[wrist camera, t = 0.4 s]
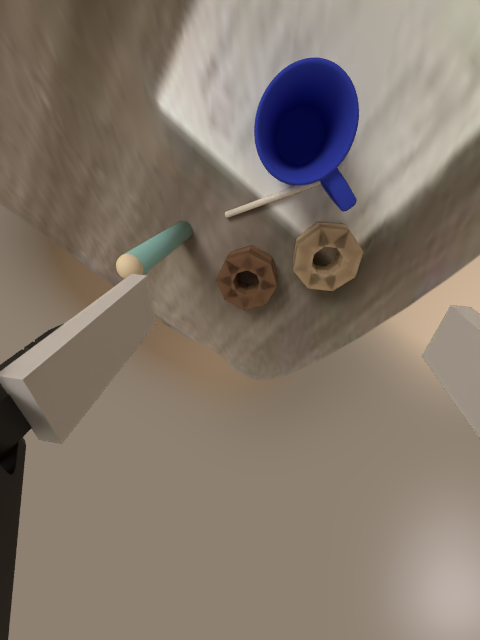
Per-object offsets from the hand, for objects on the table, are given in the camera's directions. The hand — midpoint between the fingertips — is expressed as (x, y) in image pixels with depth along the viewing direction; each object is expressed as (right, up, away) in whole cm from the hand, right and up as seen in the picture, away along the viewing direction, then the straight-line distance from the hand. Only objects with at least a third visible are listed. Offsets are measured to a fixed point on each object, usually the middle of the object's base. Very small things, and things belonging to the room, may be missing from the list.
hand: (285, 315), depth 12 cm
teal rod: (-10, +13, +25) cm, 30 cm away
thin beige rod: (+3, +16, +20) cm, 26 cm away
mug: (+6, +19, +18) cm, 27 cm away
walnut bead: (-1, +7, +27) cm, 28 cm away
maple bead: (+10, +9, +23) cm, 27 cm away
